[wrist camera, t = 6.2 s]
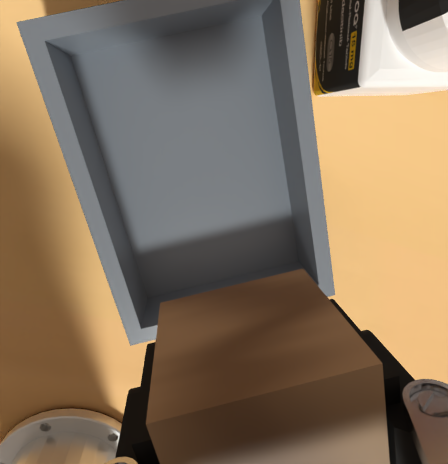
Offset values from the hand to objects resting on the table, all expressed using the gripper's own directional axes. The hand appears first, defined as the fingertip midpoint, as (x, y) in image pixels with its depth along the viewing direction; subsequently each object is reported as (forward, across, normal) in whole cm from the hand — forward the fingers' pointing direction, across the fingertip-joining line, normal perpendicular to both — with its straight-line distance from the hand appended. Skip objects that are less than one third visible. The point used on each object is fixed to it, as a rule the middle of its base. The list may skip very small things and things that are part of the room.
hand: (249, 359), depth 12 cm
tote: (+15, 0, -5) cm, 16 cm away
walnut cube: (+1, 0, 0) cm, 1 cm away
